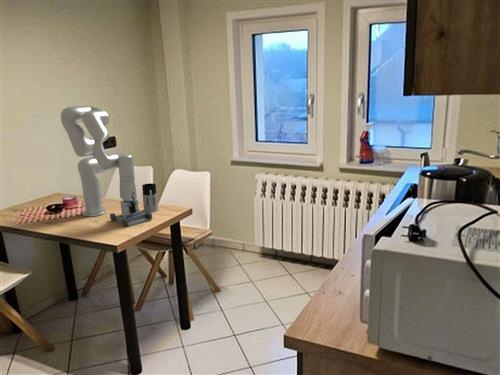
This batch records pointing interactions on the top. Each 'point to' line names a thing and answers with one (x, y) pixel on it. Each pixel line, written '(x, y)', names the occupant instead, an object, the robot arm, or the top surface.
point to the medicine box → (126, 209)
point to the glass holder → (150, 198)
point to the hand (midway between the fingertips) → (130, 211)
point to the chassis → (132, 219)
